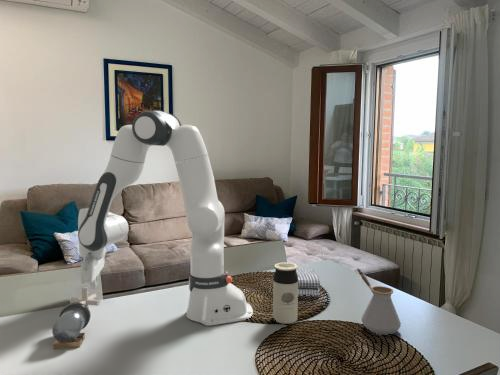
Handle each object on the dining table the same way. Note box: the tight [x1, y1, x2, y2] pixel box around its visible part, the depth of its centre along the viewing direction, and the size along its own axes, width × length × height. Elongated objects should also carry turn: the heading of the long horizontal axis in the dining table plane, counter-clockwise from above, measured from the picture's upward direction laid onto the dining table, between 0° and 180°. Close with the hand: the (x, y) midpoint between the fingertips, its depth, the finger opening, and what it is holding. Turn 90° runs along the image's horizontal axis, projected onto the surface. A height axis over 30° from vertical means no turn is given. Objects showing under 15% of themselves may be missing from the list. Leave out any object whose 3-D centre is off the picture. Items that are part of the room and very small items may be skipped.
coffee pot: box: [354, 268, 402, 336], centre depth 124 cm, size 21×12×15 cm, turn 13°
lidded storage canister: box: [51, 302, 92, 350], centre depth 112 cm, size 10×8×9 cm
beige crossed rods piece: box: [69, 285, 101, 310], centre depth 128 cm, size 10×10×10 cm
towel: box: [296, 268, 321, 297], centre depth 154 cm, size 15×18×8 cm
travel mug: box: [272, 262, 299, 325], centre depth 126 cm, size 8×8×18 cm
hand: (93, 287), depth 140 cm, fingers closed
